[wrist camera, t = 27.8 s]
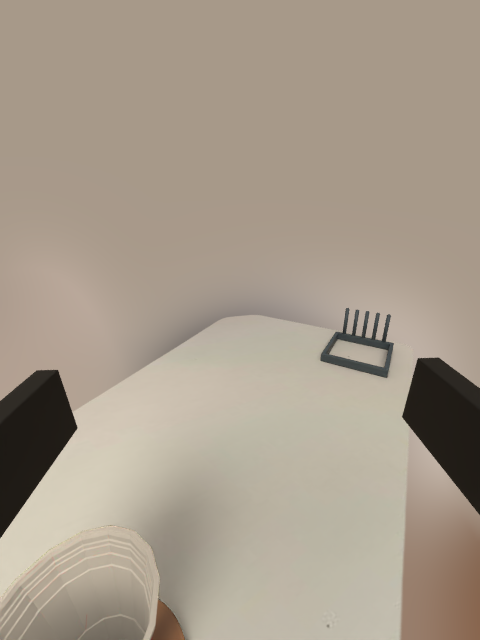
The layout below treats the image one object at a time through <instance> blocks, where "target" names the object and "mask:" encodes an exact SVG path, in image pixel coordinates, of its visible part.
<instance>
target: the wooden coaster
mask: <svg viewBox="0 0 480 640" xmlns="http://www.w3.org/2000/svg"><path fill="white" fill-rule="evenodd" d="M152 640H185V638H184V635H183V632H182V629H181V627H180V625H179V623H178V621H177V619H176V617H175V616H174V614H173V613H172V611H171V610H170V609H169V608H168V607H167V606H166V605H165V604H164V603H163V602H161V601H160V600H158V603H157V614H156V624H155V630H154V632H153V635H152Z"/></svg>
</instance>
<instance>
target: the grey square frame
mask: <svg viewBox="0 0 480 640" xmlns="http://www.w3.org/2000/svg"><path fill="white" fill-rule="evenodd" d="M348 314H349V308H346V313H345V320H344V327H343V333H341V332H336V333H335V334H334V336H333V337H332V339H331V340H330V342H329V343H328V345H327V346H326V348H325V349H324V351H323V352H322V354H321V361H324V362H328V363H332V364H336V365H340V366H343V367H347V368H351V369H355V370H359V371H363V372H367V373H370V374H374V375H378V376H382V377H386V378H387V374H388V370H389V365H390V360H391V355H392V350H393V345H394V343H390V342H386V337H387V331H388V327H389V322H390V317H391V316H390V315H387V318H386V323H385V328H384V333H383V339H382V341H380V340H375V337H376V332H377V326H378V321H379V315H380V314H379V313H377V314H376V318H375V323H374V329H373V335H372V339H370V338H365V334H366V329H367V323H368V317H369V311H366V314H365V320H364V326H363V332H362V337H360V336H355V334H356V327H357V321H358V315H359V310H356V312H355V319H354V326H353V333H352V335H350V334H346V329H347V322H348ZM337 339H340V340H345V341H349V342H354V343H359V344H363V345H368V346H373V347H377V348H382V349H387V350H388V354H387V359H386V363H385V368H383V367H378V366H374V365H370V364H366V363H362V362H358V361H354V360H350V359H346V358H342V357H337V356H333V355H329V352H330V350H331V349H332V347H333V346H334V344H335V342H336V341H337Z"/></svg>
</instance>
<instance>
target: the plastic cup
mask: <svg viewBox="0 0 480 640" xmlns="http://www.w3.org/2000/svg"><path fill="white" fill-rule="evenodd" d="M159 582H160V577H159V574H158V570H157V566H156V563H155V559H154V555H153V551H152V548H151V547H150V546H149V545H148V544H147V543H146V542H145V541H144V540H143V539H142V538H141V537H140V536H139V535H138V534H137V533H136V532H135V531H134V530H130V529H126V528H121V527H117V526H112V525H109V526H104V527H100V528H95V529H91V530H86V531H82V532H80V533H78V534H76V535H74V536H73V537H71V538H69V539H67V540H66V541H64V542H62V543H60V544H58V545H57V546H55V547H53V548H51V549H49V550H48V551H47V552H46V553H45V554H44V555H43V556H41V557H40V558H39V559H38V560H37V561H36V562H35V563H33V564H32V565H31V566H30V567H29V568H28V569H27V570H25V571H24V572H23V573H22V574H21V575H20V576H19V577H17V578H16V579H15V580H14V581H13V583H12V584H11V585H10V586H9V588H8V589H7V590H6V591H5V593H4V594H3V595H2V597H1V598H0V640H152V635H153V632H154V630H155V624H156V614H157V603H158V593H159Z"/></svg>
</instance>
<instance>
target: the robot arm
mask: <svg viewBox="0 0 480 640" xmlns="http://www.w3.org/2000/svg"><path fill="white" fill-rule="evenodd" d="M402 417H403V419H404V420H405V421H406V423H407V424H408V425H409V426H410V428H411V429H412V430H413V431H414V433H415V434H416V435H417V436H418V437H419V439H420V440H421V441H422V443H423V444H424V445H425V447H426V448H427V449H428V450H429V451H430V453H431V454H432V455H433V457H434V458H435V459H436V460H437V462H438V463H439V464H440V465H441V467H442V468H443V469H444V470H445V471H446V473H447V474H448V475H449V477H450V478H451V479H452V481H453V482H454V483H455V484H456V486H457V487H458V488H459V489H460V491H461V492H462V493H463V494H464V496H465V497H466V498H467V499H468V500H469V502H470V503H471V505H472V506H473V507H474V508H475V509H476V511H477V512H478V513H479V514H480V388H479V387H477V386H476V385H474V384H473V383H472V382H470V381H469V380H468V379H466V378H465V377H464V376H462V375H461V374H460V373H458V372H457V371H456V370H454V369H453V368H452V367H450V366H449V365H448V364H446V363H445V362H444V361H442V360H441V359H440V358H418V360H417V364H416V367H415V371H414V375H413V378H412V382H411V386H410V390H409V393H408V397H407V401H406V405H405V408H404V412H403V416H402ZM76 430H77V425H76V422H75V419H74V416H73V413H72V410H71V408H70V404H69V401H68V398H67V396H66V392H65V390H64V387H63V384H62V381H61V378H60V375H59V372H58V370H40V371H36V372H34V373H33V374H32V375H31V376H30V377H28V378H27V379H26V380H25V381H24V382H23V383H21V384H20V385H19V386H18V387H16V388H15V389H14V390H13V391H12V392H11V393H9V394H8V395H7V396H6V397H5V398H3V399H2V400H1V401H0V538H1V537H2V535H3V534H4V532H5V531H6V529H7V528H8V527H9V525H10V524H11V522H12V521H13V519H14V518H15V517H16V515H17V514H18V512H19V511H20V509H21V508H22V507H23V505H24V504H25V502H26V501H27V499H28V498H29V497H30V495H31V494H32V492H33V491H34V489H35V488H36V487H37V485H38V484H39V482H40V481H41V480H42V478H43V477H44V475H45V474H46V472H47V471H48V470H49V468H50V467H51V465H52V464H53V462H54V461H55V460H56V458H57V457H58V455H59V454H60V452H61V451H62V450H63V448H64V447H65V445H66V444H67V442H68V441H69V440H70V438H71V437H72V435H73V434H74V432H75V431H76Z"/></svg>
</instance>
